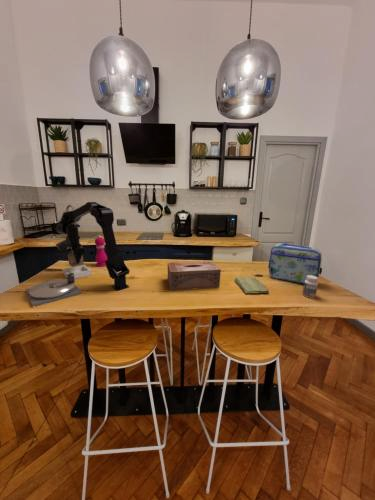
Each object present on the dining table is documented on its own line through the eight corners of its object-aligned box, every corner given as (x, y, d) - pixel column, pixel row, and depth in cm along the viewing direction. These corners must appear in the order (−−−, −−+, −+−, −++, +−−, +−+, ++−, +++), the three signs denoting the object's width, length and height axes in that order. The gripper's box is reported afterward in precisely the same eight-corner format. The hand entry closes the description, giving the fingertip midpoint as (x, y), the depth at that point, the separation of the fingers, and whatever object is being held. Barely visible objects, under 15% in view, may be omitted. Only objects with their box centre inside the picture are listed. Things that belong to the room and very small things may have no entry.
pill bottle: (303, 291, 108) (307, 273, 105) (316, 295, 104) (320, 276, 102) (301, 295, 104) (304, 277, 101) (314, 299, 100) (318, 280, 98)
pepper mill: (103, 267, 134) (101, 236, 129) (93, 266, 136) (90, 236, 130) (109, 264, 141) (107, 234, 136) (100, 263, 142) (97, 233, 137)
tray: (92, 275, 122) (91, 270, 121) (69, 280, 114) (68, 275, 113) (84, 269, 130) (84, 264, 129) (63, 274, 122) (62, 269, 121)
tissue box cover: (170, 290, 106) (170, 271, 103) (167, 279, 120) (167, 262, 117) (219, 287, 111) (220, 269, 108) (211, 277, 125) (212, 260, 122)
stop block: (83, 264, 120) (82, 254, 119) (72, 267, 116) (70, 256, 115) (80, 262, 124) (79, 252, 123) (69, 264, 120) (67, 254, 119)
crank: (33, 303, 88) (31, 290, 86) (26, 288, 100) (24, 277, 99) (81, 290, 100) (79, 279, 98) (69, 279, 112) (68, 268, 111)
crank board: (81, 293, 100) (81, 290, 100) (33, 307, 87) (32, 304, 87) (69, 281, 113) (69, 278, 113) (25, 291, 100) (25, 288, 100)
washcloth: (245, 295, 103) (246, 289, 102) (233, 281, 120) (233, 275, 119) (270, 294, 105) (271, 288, 104) (255, 280, 122) (255, 275, 121)
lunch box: (265, 277, 126) (270, 243, 120) (269, 272, 134) (274, 240, 129) (316, 288, 112) (323, 250, 106) (317, 282, 121) (324, 246, 115)
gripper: (51, 234, 117) (55, 260, 121) (61, 239, 104) (65, 269, 108) (73, 232, 125) (76, 257, 129) (84, 237, 111) (87, 265, 116)
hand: (76, 262), depth 120 cm, fingers closed on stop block, 6 cm apart
